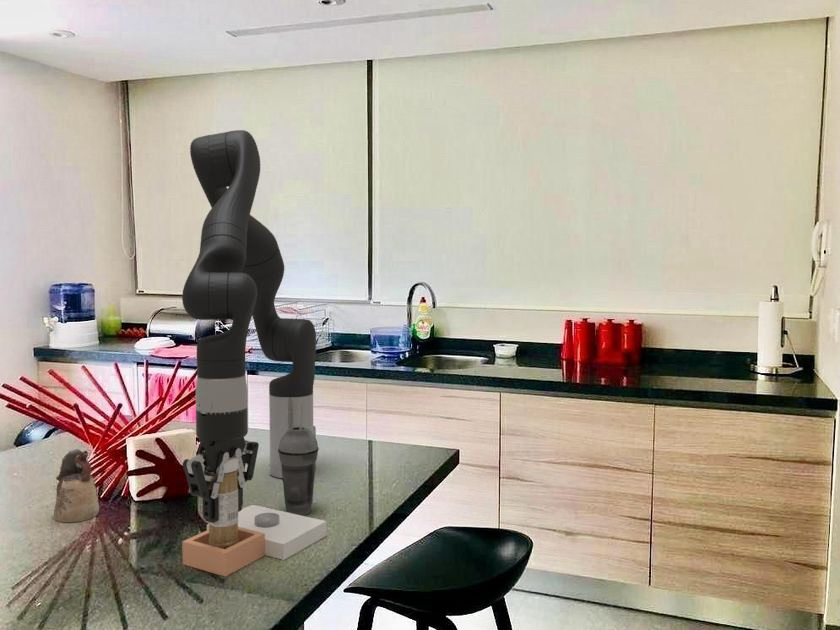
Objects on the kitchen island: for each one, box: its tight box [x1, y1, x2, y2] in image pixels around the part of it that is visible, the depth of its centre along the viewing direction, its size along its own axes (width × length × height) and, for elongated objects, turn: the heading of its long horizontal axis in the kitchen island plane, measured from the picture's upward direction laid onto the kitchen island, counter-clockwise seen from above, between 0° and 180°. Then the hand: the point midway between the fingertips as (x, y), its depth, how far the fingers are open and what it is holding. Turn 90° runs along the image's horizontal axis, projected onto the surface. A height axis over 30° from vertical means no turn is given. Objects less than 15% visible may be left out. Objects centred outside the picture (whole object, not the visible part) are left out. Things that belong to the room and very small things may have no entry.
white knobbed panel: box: [181, 504, 327, 577], centre depth 113 cm, size 20×16×4 cm
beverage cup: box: [278, 404, 320, 516], centre depth 129 cm, size 7×7×20 cm
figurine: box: [53, 448, 100, 523], centre depth 126 cm, size 7×7×12 cm
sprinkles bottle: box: [208, 456, 239, 549], centre depth 108 cm, size 5×5×13 cm
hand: (223, 515), depth 108 cm, fingers closed on sprinkles bottle, 4 cm apart
